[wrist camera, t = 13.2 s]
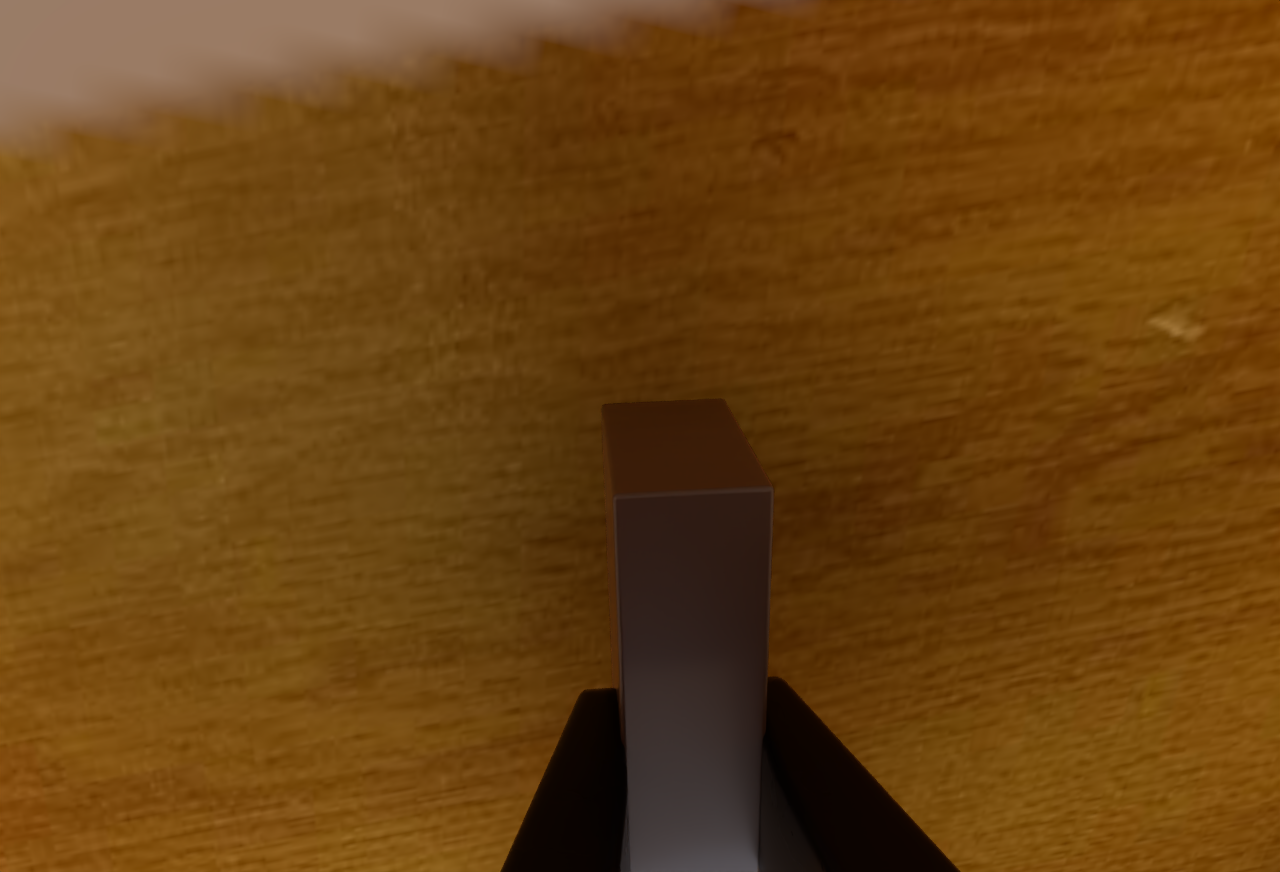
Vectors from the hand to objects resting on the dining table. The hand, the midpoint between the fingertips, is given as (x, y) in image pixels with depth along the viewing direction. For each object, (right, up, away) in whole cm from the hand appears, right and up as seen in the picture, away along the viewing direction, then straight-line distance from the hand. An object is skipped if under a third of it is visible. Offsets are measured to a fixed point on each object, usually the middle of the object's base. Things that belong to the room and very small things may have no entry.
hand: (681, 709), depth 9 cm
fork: (0, -3, +3) cm, 4 cm away
